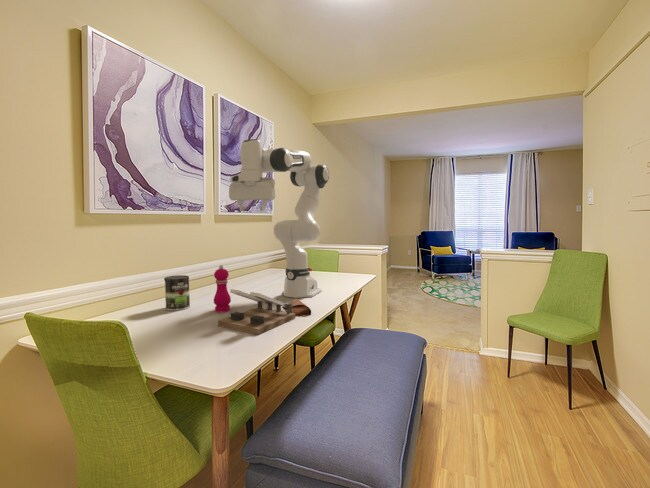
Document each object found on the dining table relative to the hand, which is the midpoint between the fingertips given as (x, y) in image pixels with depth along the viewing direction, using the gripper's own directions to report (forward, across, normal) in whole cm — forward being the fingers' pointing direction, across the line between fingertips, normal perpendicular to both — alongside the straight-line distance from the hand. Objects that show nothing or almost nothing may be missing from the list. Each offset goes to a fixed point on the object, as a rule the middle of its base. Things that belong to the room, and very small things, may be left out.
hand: (252, 210), depth 145 cm
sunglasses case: (+44, -17, -6) cm, 48 cm away
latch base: (+44, -9, +13) cm, 46 cm away
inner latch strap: (+35, -4, +11) cm, 37 cm away
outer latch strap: (+35, -14, +13) cm, 40 cm away
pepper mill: (+44, +14, +2) cm, 46 cm away
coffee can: (+44, +36, +3) cm, 57 cm away
